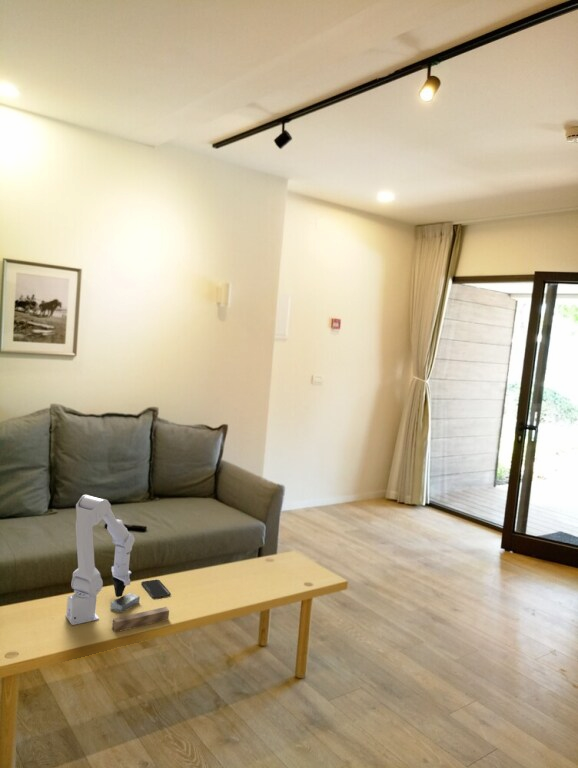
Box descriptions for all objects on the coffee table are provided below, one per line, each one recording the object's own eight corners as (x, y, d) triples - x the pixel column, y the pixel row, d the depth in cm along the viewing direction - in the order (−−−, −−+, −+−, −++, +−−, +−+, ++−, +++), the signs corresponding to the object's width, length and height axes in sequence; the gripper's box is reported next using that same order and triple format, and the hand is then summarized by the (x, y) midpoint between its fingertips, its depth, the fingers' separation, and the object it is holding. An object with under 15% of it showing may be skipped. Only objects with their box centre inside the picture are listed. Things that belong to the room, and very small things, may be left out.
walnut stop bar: (115, 632, 192) (116, 622, 192) (112, 628, 194) (112, 618, 194) (168, 619, 204) (169, 610, 204) (164, 615, 207) (165, 606, 206)
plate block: (121, 613, 205) (121, 606, 205) (110, 610, 208) (111, 602, 207) (139, 603, 215) (139, 596, 214) (128, 600, 217) (129, 592, 216)
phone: (158, 579, 236) (171, 594, 223) (158, 581, 236) (171, 596, 223) (140, 581, 231) (152, 597, 219) (140, 584, 231) (152, 600, 219)
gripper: (139, 567, 212) (135, 601, 213) (124, 554, 224) (121, 586, 224) (121, 570, 208) (117, 605, 209) (107, 556, 219) (104, 589, 220)
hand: (118, 596), depth 216 cm, fingers closed
